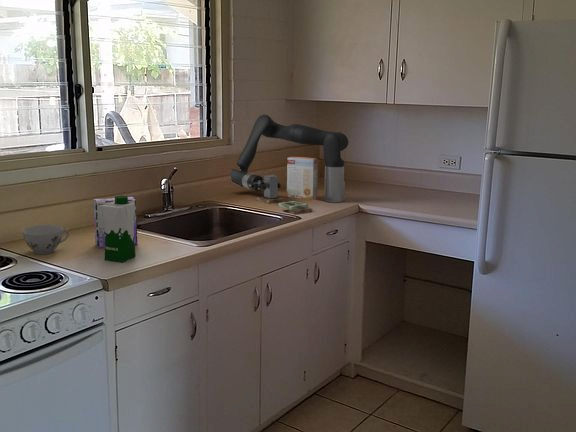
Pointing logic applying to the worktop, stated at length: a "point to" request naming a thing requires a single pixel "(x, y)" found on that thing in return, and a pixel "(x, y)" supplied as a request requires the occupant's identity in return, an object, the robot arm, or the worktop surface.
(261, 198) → the olive flat piece
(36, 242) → the teacup
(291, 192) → the cracker box
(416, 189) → the worktop surface
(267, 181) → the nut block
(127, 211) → the milk carton
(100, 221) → the candy box
